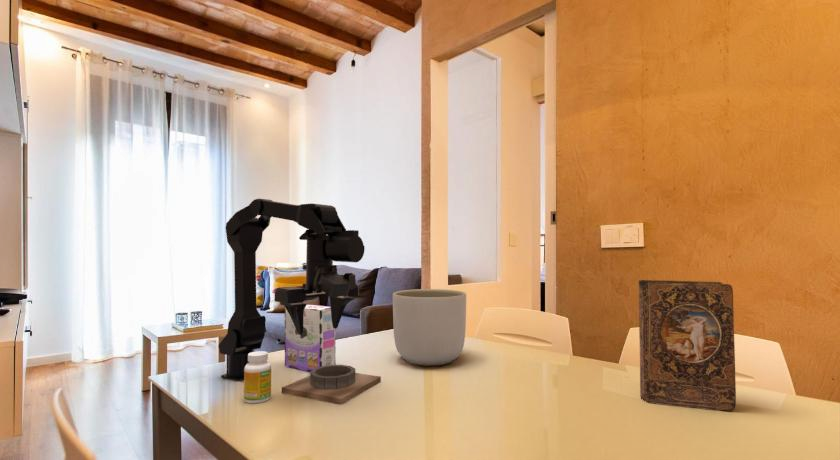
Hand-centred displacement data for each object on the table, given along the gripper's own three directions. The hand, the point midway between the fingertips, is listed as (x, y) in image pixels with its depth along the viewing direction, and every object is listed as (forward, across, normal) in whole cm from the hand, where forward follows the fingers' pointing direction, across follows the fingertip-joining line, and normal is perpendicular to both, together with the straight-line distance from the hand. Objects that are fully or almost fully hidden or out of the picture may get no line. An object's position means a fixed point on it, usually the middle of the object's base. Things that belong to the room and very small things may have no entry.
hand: (318, 331), depth 95 cm
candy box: (+14, +10, +18) cm, 25 cm away
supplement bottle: (+14, -10, +7) cm, 19 cm away
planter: (+14, +37, -2) cm, 39 cm away
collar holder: (+14, +5, +1) cm, 15 cm away
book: (+13, +47, -62) cm, 79 cm away
